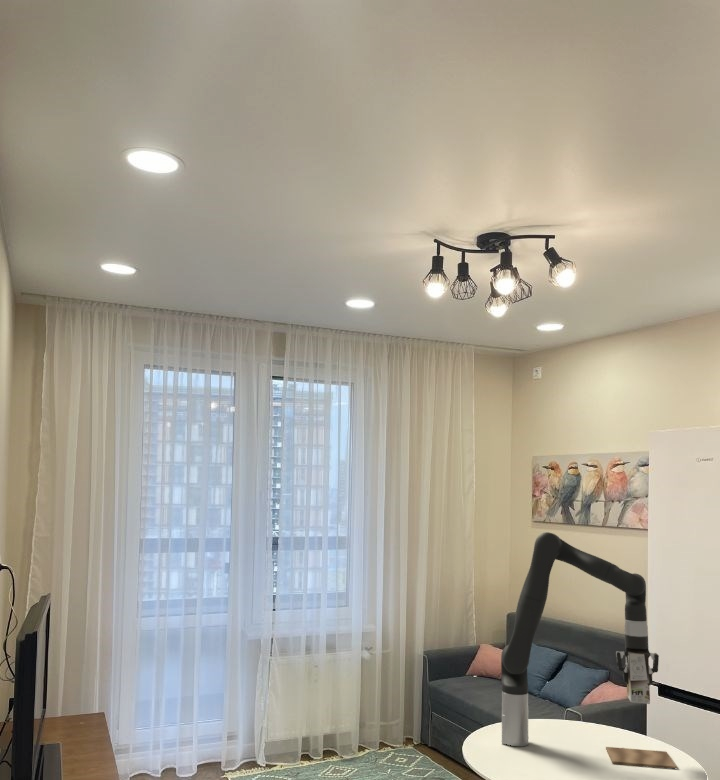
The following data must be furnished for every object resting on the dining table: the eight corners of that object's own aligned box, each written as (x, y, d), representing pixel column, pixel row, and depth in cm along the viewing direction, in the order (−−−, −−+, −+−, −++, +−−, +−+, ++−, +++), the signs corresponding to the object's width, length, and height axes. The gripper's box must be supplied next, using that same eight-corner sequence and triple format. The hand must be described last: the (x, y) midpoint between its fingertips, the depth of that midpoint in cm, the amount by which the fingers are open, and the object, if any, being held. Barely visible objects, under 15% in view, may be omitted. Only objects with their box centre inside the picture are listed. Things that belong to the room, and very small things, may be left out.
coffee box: (650, 704, 250) (648, 653, 253) (630, 703, 252) (628, 652, 254) (646, 697, 259) (644, 648, 261) (626, 696, 260) (624, 647, 263)
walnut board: (612, 763, 247) (612, 761, 247) (605, 749, 262) (605, 746, 262) (677, 769, 244) (676, 766, 244) (666, 754, 258) (666, 751, 258)
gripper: (616, 634, 256) (617, 685, 254) (660, 636, 253) (662, 688, 251) (612, 630, 263) (614, 680, 261) (655, 632, 261) (657, 682, 258)
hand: (638, 684), depth 256 cm, fingers closed on coffee box, 6 cm apart
